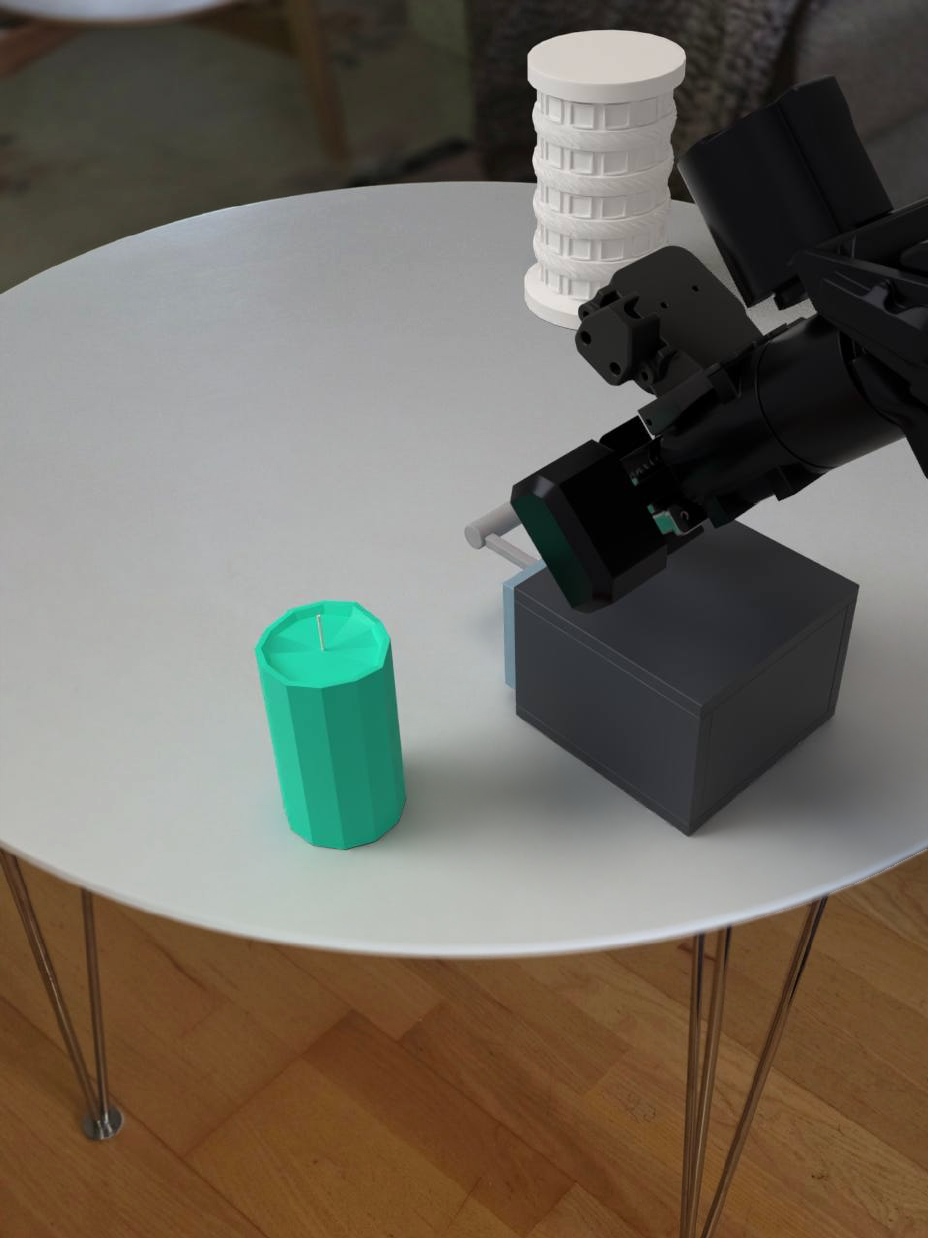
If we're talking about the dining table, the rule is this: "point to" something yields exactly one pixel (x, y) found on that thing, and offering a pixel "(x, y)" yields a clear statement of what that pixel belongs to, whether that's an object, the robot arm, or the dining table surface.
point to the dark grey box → (688, 669)
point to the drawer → (488, 535)
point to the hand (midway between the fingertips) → (598, 509)
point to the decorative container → (598, 161)
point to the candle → (333, 722)
